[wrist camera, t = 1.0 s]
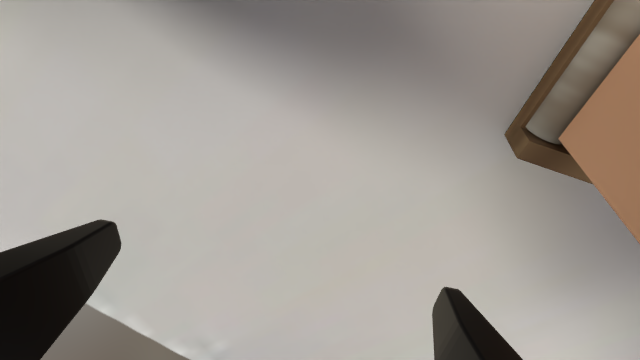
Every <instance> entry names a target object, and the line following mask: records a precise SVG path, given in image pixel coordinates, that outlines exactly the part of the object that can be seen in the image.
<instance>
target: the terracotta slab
mask: <svg viewBox="0 0 640 360" xmlns="http://www.w3.org/2000/svg"><path fill="white" fill-rule="evenodd" d="M558 139H559V140H560V141H561V143H562V144H563V145H564V147H565V148H566V149H567V150H568V152H569V153H570V154H571V156H572V157H573V158H574V159H575V161H576V162H577V163H578V165H579V166H580V167H581V169H582V170H583V171H584V172H585V174H586V175H587V176H588V178H589V179H590V180H591V181H592V183H593V184H594V185H595V187H596V188H597V189H598V191H599V192H600V193H601V194H602V196H603V197H604V198H605V200H606V201H607V202H608V203H609V205H610V206H611V207H612V209H613V210H614V211H615V213H616V214H617V215H618V216H619V218H620V219H621V220H622V222H623V223H624V224H625V225H626V227H627V228H628V229H629V231H630V232H631V233H632V234H633V236H634V237H635V238H636V240H637V241H638V242H639V244H640V34H639V36H638V37H637V38H636V39H635V41H634V42H633V43H632V45H631V46H630V47H629V48H628V50H627V51H626V52H625V54H624V55H623V56H622V57H621V59H620V60H619V61H618V63H617V64H616V65H615V66H614V68H613V69H612V70H611V72H610V73H609V74H608V75H607V77H606V78H605V79H604V81H603V82H602V83H601V84H600V86H599V87H598V88H597V90H596V91H595V92H594V93H593V95H592V96H591V97H590V99H589V100H588V101H587V102H586V104H585V105H584V106H583V108H582V109H581V110H580V111H579V113H578V114H577V115H576V116H575V118H574V119H573V120H572V122H571V123H570V124H569V125H568V127H567V128H566V129H565V131H564V132H563V133H562V134H561V136H560V137H559V138H558Z"/></svg>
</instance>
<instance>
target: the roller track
mask: <svg viewBox="0 0 640 360" xmlns="http://www.w3.org/2000/svg"><path fill="white" fill-rule="evenodd" d="M639 34H640V0H595V1H594V2H593V4H592V5H591V7H590V8H589V10H588V11H587V13H586V14H585V16H584V17H583V19H582V20H581V22H580V23H579V24H578V26H577V27H576V29H575V30H574V32H573V33H572V35H571V36H570V38H569V39H568V41H567V42H566V44H565V45H564V47H563V48H562V50H561V51H560V53H559V54H558V56H557V57H556V59H555V60H554V62H553V63H552V65H551V66H550V68H549V69H548V71H547V72H546V73H545V75H544V76H543V78H542V79H541V81H540V82H539V84H538V85H537V87H536V88H535V90H534V91H533V93H532V94H531V96H530V97H529V99H528V100H527V102H526V103H525V105H524V106H523V108H522V109H521V111H520V112H519V114H518V115H517V117H516V118H515V120H514V121H513V122H512V124H511V125H510V127H509V128H508V130H507V131H506V133H505V134H504V135H505V137H506V138H507V140H508V142H509V144H510V146H511V148H512V150H513V151H514V153H515V155H516V157H517V158H518V159H521V160H524V161H527V162H530V163H533V164H535V165H538V166H541V167H544V168H547V169H550V170H553V171H556V172H559V173H562V174H565V175H568V176H571V177H574V178H576V179H579V180H582V181H585V182H588V183H591V184H593V183H592V181H591V180H590V179H589V178H588V176H587V175H586V174H585V172H584V171H583V170H582V169H581V167H580V166H579V165H578V163H577V162H576V161H575V159H574V158H573V157H572V156H571V154H570V153H569V152H568V150H567V149H566V148H565V147H564V145H563V144H562V143H561V141H560V140H559V139H558V138H559V137H560V136H561V134H562V133H563V132H564V131H565V129H566V128H567V127H568V125H569V124H570V123H571V122H572V120H573V119H574V118H575V116H576V115H577V114H578V113H579V111H580V110H581V109H582V108H583V106H584V105H585V104H586V102H587V101H588V100H589V99H590V97H591V96H592V95H593V93H594V92H595V91H596V90H597V88H598V87H599V86H600V84H601V83H602V82H603V81H604V79H605V78H606V77H607V75H608V74H609V73H610V72H611V70H612V69H613V68H614V66H615V65H616V64H617V63H618V61H619V60H620V59H621V57H622V56H623V55H624V54H625V52H626V51H627V50H628V48H629V47H630V46H631V45H632V43H633V42H634V41H635V39H636V38H637V37H638V36H639Z"/></svg>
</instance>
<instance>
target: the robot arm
mask: <svg viewBox="0 0 640 360" xmlns="http://www.w3.org/2000/svg"><path fill="white" fill-rule="evenodd" d="M120 249H121V240H120V236H119V233H118V229H117V225H116V224H115V223H114V222H112V221H107V220H97V221H94V222H91V223H88V224H85V225H82V226H78V227H75V228H72V229H69V230H66V231H63V232H60V233H57V234H54V235H51V236H48V237H45V238H42V239H39V240H36V241H33V242H30V243H27V244H24V245H21V246H18V247H15V248H12V249H9V250H6V251H3V252H0V360H40V359H41V358H42V357H43V355H44V354H45V353H46V352H47V350H48V349H49V348H50V347H51V345H52V344H53V343H54V342H55V340H56V339H57V338H58V337H59V335H60V334H61V333H62V332H63V330H64V329H65V328H66V327H67V325H68V324H69V323H70V322H71V320H72V319H73V318H74V317H75V315H76V314H77V313H78V312H79V310H80V309H81V308H82V307H83V305H84V304H85V303H86V302H87V300H88V299H89V298H90V296H91V295H92V294H93V292H94V291H95V289H96V288H97V286H98V285H99V283H100V282H101V280H102V278H103V277H104V275H105V274H106V272H107V271H108V269H109V268H110V266H111V264H112V263H113V261H114V260H115V258H116V257H117V255H118V253H119V251H120ZM432 318H433V339H434V359H435V360H523V359H522V358H521V357H520V356H519V355H518V354H517V353H516V351H515V350H514V349H513V348H512V347H511V346H510V345H509V344H508V343H507V342H506V340H505V339H504V338H503V337H502V336H501V335H500V334H499V333H498V332H497V331H496V330H495V328H494V327H493V326H492V325H491V324H490V323H489V322H488V321H487V320H486V319H485V317H484V316H483V315H482V314H481V313H480V312H479V311H478V310H477V309H476V308H475V306H474V305H473V304H472V303H471V302H470V301H469V300H468V299H467V298H466V297H465V295H464V294H463V293H462V292H461V291H460V290H458V289H454V288H449V287H444V288H443V289H442V290H441V292H440V294H439V296H438V298H437V300H436V302H435V304H434V307H433V313H432Z"/></svg>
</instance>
